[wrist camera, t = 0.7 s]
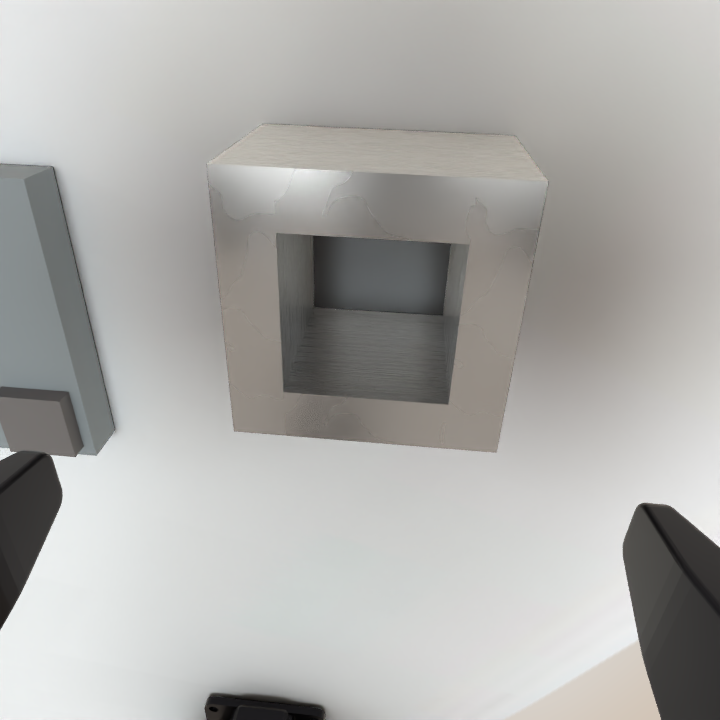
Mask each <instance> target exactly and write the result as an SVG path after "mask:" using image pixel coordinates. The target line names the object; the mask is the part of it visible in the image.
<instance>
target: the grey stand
mask: <svg viewBox="0 0 720 720" xmlns="http://www.w3.org/2000/svg"><path fill="white" fill-rule="evenodd" d="M114 431H115V429H114V424H113V420H112V416H111V412H110V407H109V403H108V399H107V395H106V390H105V386H104V382H103V378H102V374H101V369H100V365H99V361H98V357H97V352H96V348H95V344H94V340H93V335H92V331H91V327H90V323H89V318H88V314H87V310H86V306H85V301H84V297H83V293H82V289H81V285H80V280H79V276H78V272H77V268H76V263H75V259H74V255H73V251H72V246H71V242H70V238H69V234H68V229H67V225H66V221H65V217H64V212H63V208H62V204H61V200H60V196H59V191H58V187H57V183H56V179H55V174H54V170H53V167H48V166H30V165H11V164H0V447H2V448H10V451H11V452H19V451H25V450H28V451H39V452H46V453H48V454H49V455H58V456H70V457H76V456H77V454H84V455H95V456H97V454H98V453H99V452H100V450H101V449H102V448H103V446H104V445H105V443H106V442H107V441H108V439H109V438H110V437H111V435H112V434H113V432H114Z"/></svg>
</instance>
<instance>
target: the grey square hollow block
mask: <svg viewBox="0 0 720 720" xmlns="http://www.w3.org/2000/svg"><path fill="white" fill-rule="evenodd" d="M206 165H207V175H208V185H209V194H210V204H211V214H212V223H213V233H214V243H215V252H216V262H217V272H218V281H219V291H220V301H221V310H222V320H223V330H224V339H225V349H226V359H227V368H228V378H229V388H230V397H231V407H232V417H233V426H234V431H238V432H250V433H262V434H274V435H287V436H299V437H311V438H324V439H336V440H348V441H360V442H373V443H385V444H397V445H410V446H422V447H434V448H446V449H459V450H471V451H483V452H497V447H498V442H499V437H500V432H501V427H502V421H503V416H504V411H505V406H506V401H507V396H508V390H509V385H510V380H511V375H512V370H513V364H514V359H515V354H516V349H517V344H518V339H519V333H520V328H521V323H522V318H523V313H524V308H525V302H526V297H527V292H528V287H529V282H530V277H531V271H532V266H533V261H534V256H535V251H536V246H537V240H538V235H539V230H540V225H541V220H542V215H543V209H544V204H545V199H546V194H547V189H548V184H549V181H548V180H547V178H546V177H545V176H544V174H543V173H542V172H541V170H540V169H539V168H538V166H537V165H536V163H535V162H534V161H533V159H532V158H531V157H530V155H529V154H528V153H527V151H526V150H525V148H524V147H523V146H522V144H521V143H520V142H519V140H518V139H517V138H516V136H513V135H492V134H470V133H449V132H428V131H407V130H386V129H365V128H343V127H322V126H301V125H280V124H261V125H260V126H259V127H257V128H256V129H254V130H253V131H252V132H250V133H249V134H247V135H246V136H245V137H243V138H242V139H240V140H239V141H238V142H236V143H235V144H233V145H232V146H231V147H229V148H228V149H226V150H225V151H224V152H222V153H221V154H219V155H218V156H217V157H215V158H214V159H212V160H211V161H210V162H208V163H207V164H206ZM313 235H318V236H334V237H351V238H368V239H385V240H402V241H419V242H436V243H451V247H450V256H449V264H448V273H447V282H446V291H445V299H444V308H443V316H440V315H425V314H410V313H395V312H380V311H365V310H350V309H335V308H320V307H314V244H313Z"/></svg>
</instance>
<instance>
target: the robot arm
mask: <svg viewBox="0 0 720 720" xmlns="http://www.w3.org/2000/svg"><path fill="white" fill-rule="evenodd" d="M62 496H63V495H62V488H61V485H60V481H59V478H58V475H57V472H56V469H55V465H54V462H53V459H52V457H51V456H50V455H49V454H48V453H46V452H39V451H28V450H25V451H19V452H17V453H15V454H13V455H11V456H9V457H7V458H5V459H3V460H1V461H0V630H1V628H2V626H3V624H4V623H5V621H6V619H7V617H8V616H9V614H10V612H11V610H12V609H13V607H14V605H15V603H16V601H17V600H18V598H19V596H20V594H21V592H22V590H23V588H24V586H25V584H26V582H27V580H28V577H29V575H30V573H31V571H32V569H33V566H34V564H35V562H36V560H37V557H38V555H39V553H40V551H41V549H42V546H43V544H44V542H45V540H46V537H47V535H48V533H49V531H50V529H51V526H52V524H53V522H54V520H55V517H56V515H57V513H58V511H59V508H60V506H61V503H62ZM623 560H624V565H625V570H626V575H627V580H628V586H629V591H630V596H631V601H632V607H633V612H634V617H635V622H636V627H637V633H638V638H639V643H640V647H641V652H642V656H643V660H644V664H645V667H646V671H647V675H648V678H649V681H650V684H651V688H652V691H653V694H654V697H655V701H656V704H657V707H658V710H659V714H660V717H661V720H720V547H719V546H717V545H716V544H715V543H714V542H713V541H711V540H710V539H709V538H708V537H707V536H706V535H704V534H703V533H702V532H701V531H700V530H698V529H697V528H696V527H695V526H694V525H693V524H691V523H690V522H689V521H688V520H687V519H686V518H684V517H683V516H682V515H681V514H680V513H678V512H677V511H676V510H675V509H674V508H672V507H671V506H668V505H664V504H653V503H642V504H639V505H638V506H637V508H636V510H635V512H634V515H633V517H632V520H631V523H630V525H629V528H628V531H627V533H626V536H625V539H624V542H623ZM205 713H206V718H207V720H325V712H324V711H323V710H321V709H319V708H312V707H303V706H294V705H285V704H276V703H267V702H258V701H250V700H241V699H232V698H223V697H209V698H208V699H207V702H206V705H205Z"/></svg>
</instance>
